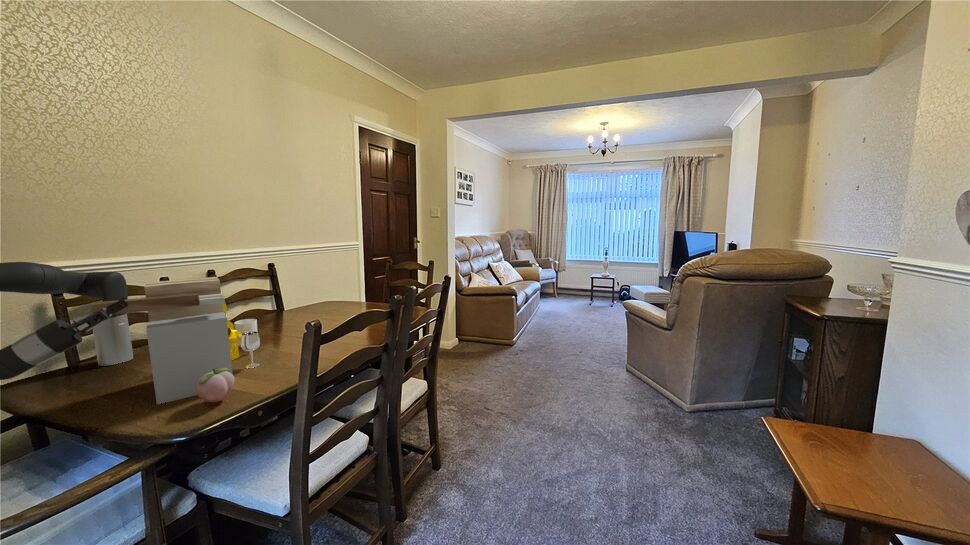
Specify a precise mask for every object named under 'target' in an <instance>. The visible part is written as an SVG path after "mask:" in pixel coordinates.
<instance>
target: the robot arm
mask: <svg viewBox="0 0 970 545" xmlns="http://www.w3.org/2000/svg"><path fill="white" fill-rule="evenodd" d="M127 285H128V284H127V280H126V278H125V277H124V275H123V274H122V273H120V272H117V271H91V272H88V271H87V272H82V271H81V272H80V271H79V272H78V271H67V270H64V269H63V268H60V267H57V266H54V265H51V264H45V263H38V262H37V263H36V262H31V261H29V262H28V261H14V262H13V261H10V262H8V261H7V262H0V292H3V293H4V292H5V293H17V294H31V295H32V294H35V295H53V294H54V295H55V294H68V295H74V296H75V295H76V296H80V297H85V298H86V297H87V298H95V299H97V298H100V299H101V302H105V301H117V300H119V301H117V302H115V303H114V304H112V305H110V306H108V307H105V308H102V309H101V310H99V311H97V312H92V309H91V310H90V311H88V312H86V313H84V314H80V315H79V316H77V317H75V318H74V319H73V320H72V323H68V322H67V321H65V320H62V319H55V320H54V321H52V322H50V323H48V324H46V325H44V326H42V327H40V328H38V329H36V330H33V331H32V332H30V333H28V334H26V335H25V336H22V337H20V338H19V339H18V340H16V341H14V342H13V343H10V344H9V345H7V346H5V347H3V348H1V349H0V381H3V380H4V381H5V380H10V379H13V378H16V377H18V376H20V375H22V374H24V373H26V372H28V371H29V370H31V369H33V368H35V367H36V366H39V365H41V364H42V363H45V362H47V361H48V362H49V361H50V360H51V359H53V358H55V357H57V356H59V355H60V354H63V353H65V352H67V351H68V350H70V349H71V348H73V347H74V348H75V346H77V345H79V344H81V343H82V342H83V336H82V335H81V334H83V333H88V332H89V331H91V330H92V332H93V333H92V334H93V339H94V347H95V353H96V359H97V365H98V366H103V367H104V366H113V365H119V364H123V363H127V362H128V361H131V360H133V359H134V353H133V352H134V351H133V346H132V345H133V344H132V338H131V332H130V326H129V320H128V313H123V314H114V313H116V312H118V311H120V310H122V309H123V308H125V307H127V306H128V303H127V302H126V301H125V300H128V299H129V297H128V286H127ZM112 313H113V314H114V315H113V314H112ZM122 362H123V363H122ZM118 363H119V364H118Z"/></svg>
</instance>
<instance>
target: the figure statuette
mask: <svg viewBox="0 0 970 545" xmlns="http://www.w3.org/2000/svg"><path fill="white" fill-rule="evenodd" d="M227 306H228V305H227V304H226V303H225V304H222V307H223V312H224V313H225V315H226V316H227V312H228V307H227ZM227 326H228V336H229V345H230V354H231V362H232V361H233V360H234V361H235V359H238V358H240V353H239V348H240V347H239V346H238V340H237V339H239V340H241V335H242V334H241V333H239V332H238V331H237V330H235V325H234V323H233V322H231V321H230V320H229V319H228V318H227Z"/></svg>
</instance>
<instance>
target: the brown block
mask: <svg viewBox="0 0 970 545" xmlns="http://www.w3.org/2000/svg"><path fill="white" fill-rule="evenodd" d="M225 300H226V299H225V296H224V295H223V293H221V294H213V295H202V296H199V294H198V293H194V294H183V295H172V296H161V297H150V298H146V297H142V298H131V299H130V298H128V300H125V301H126V302H127V303H128V306H127V307H125V308H123V309H122V310H120V311H118V312H116V313H114V314H123V313H127V314H132V313H141V312H148V311H151V310H161V309H170V308H179V307H189V306H198V305H200V307H202V306H211V305H221V304H226V301H225ZM117 301H119V300H117ZM117 301H105V302H102V301H96V302H92V303H91V304H90V307H91V308H90V309H91V310H92V312H97V311H99V310H101V309H102V308H105V307H108V306H110V305H112V304H114V303H115V302H117ZM112 314H113V313H112ZM114 314H113V315H114Z"/></svg>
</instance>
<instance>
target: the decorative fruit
mask: <svg viewBox="0 0 970 545" xmlns="http://www.w3.org/2000/svg"><path fill="white" fill-rule="evenodd" d="M226 370H230V369H228V368H220V369H217V370H215V369H213V372H209V373H207V374H205V375H203V376H202V377H201V378H200V379H199V380H198V382H197V383H196V387H195V389H196V392H197V394H198V395H197V396H198V397H199V398H200V399H201V400H203V401H205V402H206V403H207V402H208V403H219V402H220V401H221V402H222V400H224V399H225V398H226V397H228V395H229V394H230V393H231V392H232V390H233V387H235V383H236V378H235V376H234V374H233V375H232V374H231V373H230V372H227V371H226Z"/></svg>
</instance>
